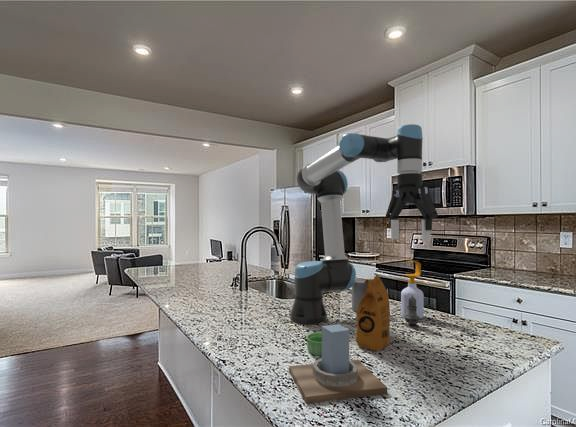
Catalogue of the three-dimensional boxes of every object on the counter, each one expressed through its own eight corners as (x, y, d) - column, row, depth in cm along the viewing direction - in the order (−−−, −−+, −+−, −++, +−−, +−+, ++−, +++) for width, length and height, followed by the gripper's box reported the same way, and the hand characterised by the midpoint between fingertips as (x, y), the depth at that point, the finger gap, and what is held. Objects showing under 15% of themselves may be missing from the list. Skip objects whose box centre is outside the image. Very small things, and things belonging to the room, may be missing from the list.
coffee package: (350, 346, 108) (351, 278, 109) (366, 335, 118) (366, 273, 119) (380, 353, 102) (380, 281, 103) (394, 342, 112) (394, 276, 113)
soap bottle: (397, 313, 147) (397, 257, 148) (417, 313, 148) (417, 257, 148) (406, 319, 138) (406, 260, 139) (427, 319, 139) (427, 260, 139)
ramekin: (336, 347, 107) (336, 333, 108) (333, 358, 99) (333, 343, 99) (308, 344, 109) (308, 331, 110) (303, 355, 101) (303, 340, 101)
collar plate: (289, 371, 89) (289, 356, 89) (357, 365, 94) (358, 350, 94) (305, 403, 74) (306, 385, 74) (387, 393, 78) (387, 376, 78)
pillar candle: (372, 308, 156) (372, 276, 156) (374, 313, 146) (373, 279, 146) (351, 307, 157) (351, 275, 158) (351, 313, 148) (351, 279, 148)
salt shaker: (421, 329, 126) (421, 297, 126) (405, 328, 127) (405, 296, 127) (418, 324, 132) (418, 294, 132) (403, 323, 133) (403, 293, 133)
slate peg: (321, 373, 85) (321, 326, 86) (338, 370, 87) (338, 324, 88) (331, 382, 81) (331, 332, 81) (349, 378, 83) (349, 329, 83)
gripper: (450, 169, 97) (451, 242, 96) (392, 179, 120) (392, 238, 119) (431, 167, 94) (431, 242, 93) (375, 177, 117) (375, 238, 116)
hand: (409, 240), depth 106 cm, fingers open, 13 cm apart
